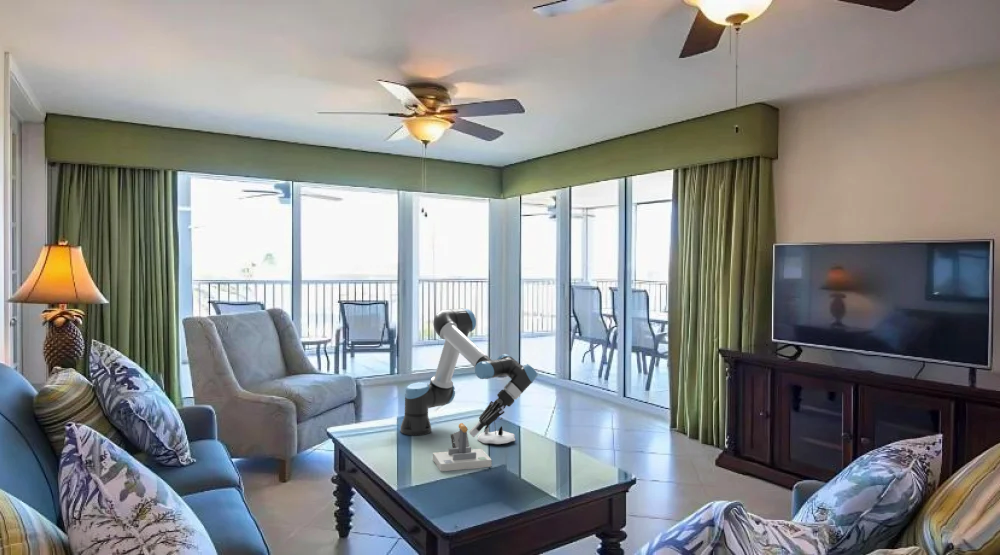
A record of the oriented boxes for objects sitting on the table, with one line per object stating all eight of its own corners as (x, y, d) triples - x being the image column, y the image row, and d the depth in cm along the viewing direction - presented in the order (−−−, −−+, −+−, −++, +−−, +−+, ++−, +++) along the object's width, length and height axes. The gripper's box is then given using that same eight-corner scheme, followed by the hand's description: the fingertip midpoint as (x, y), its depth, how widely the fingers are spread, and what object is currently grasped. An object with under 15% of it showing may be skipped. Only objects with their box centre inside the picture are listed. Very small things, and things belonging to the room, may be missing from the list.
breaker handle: (457, 453, 251) (458, 423, 250) (462, 452, 252) (464, 422, 251) (461, 457, 246) (462, 427, 245) (466, 457, 247) (467, 426, 246)
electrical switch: (457, 452, 263) (456, 433, 263) (449, 450, 265) (449, 432, 266) (469, 447, 269) (468, 429, 269) (462, 446, 272) (461, 428, 272)
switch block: (432, 459, 252) (433, 447, 251) (481, 455, 259) (481, 443, 259) (440, 471, 239) (441, 458, 238) (491, 466, 246) (491, 454, 246)
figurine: (524, 441, 279) (522, 406, 279) (492, 447, 268) (491, 412, 269) (500, 433, 295) (499, 401, 296) (469, 439, 285) (468, 406, 285)
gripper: (520, 404, 250) (481, 445, 245) (509, 396, 262) (472, 435, 257) (508, 392, 247) (470, 433, 242) (498, 385, 260) (461, 424, 255)
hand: (471, 434), depth 250 cm, fingers closed
